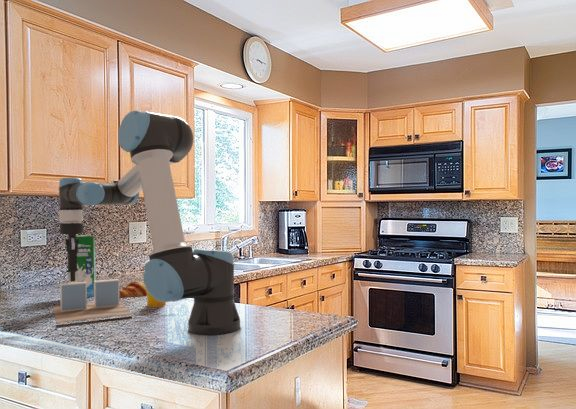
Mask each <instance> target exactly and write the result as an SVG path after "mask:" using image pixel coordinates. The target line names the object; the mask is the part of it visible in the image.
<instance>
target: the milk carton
mask: <svg viewBox="0 0 576 409" xmlns="http://www.w3.org/2000/svg"><path fill="white" fill-rule="evenodd" d="M76 239H78V241H79V243H78V251H77V269H78V271H77V282H87V299H91V298H93V299H94V281H97V280H96V279H97V278H96V276H97V275H96V269H97V268H96V239H95V237H94V235H81V234H78V235H76Z"/></svg>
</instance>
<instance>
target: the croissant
mask: <svg viewBox="0 0 576 409" xmlns="http://www.w3.org/2000/svg"><path fill="white" fill-rule="evenodd" d="M143 296H147V289H146V286H145V283H143V282H142V281H130V282H129V283H128V284H126V286H125V287H123V288H122V289H121V290H119V299H121V298H134V297H143Z"/></svg>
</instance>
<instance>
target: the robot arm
mask: <svg viewBox="0 0 576 409" xmlns="http://www.w3.org/2000/svg"><path fill="white" fill-rule="evenodd" d="M117 137H118V140H117V141H118V145H119V147H120V148H121V149H122V150H123V151H125V152H126V153H129V154H130V160H131V163H132V164H134V166H133V167H131V169H129V170H128V172H126V173H125V174H124V175H123V176H122V177H120V179H119V180H118V181H116V182H110V183H109V182H94V181H86V182H84V181H83V179H82V178H80V177H61V178H60V179H59V182H58V199H59V200H58V201H59V203H58V204H59V210H58V211H59V212H58V213H59V214H58V216H59V218H58V219H59V222H61V223H60V224H59V234H61V235H67V239H66V238H65V244H66V246H65V248H66V252H67V267H66V268H67V270H66V273H67V279H68V280H67V283H74V282H77V271H78V269H77V251H78V243H79V241H78V239H76V236H77V235H81V234H84V223H83V221H84V216H86V212H84V206H102V205H103V206H104V205H105V206H106V205H107V206H108V205H110V206H111V205H112V206H113V205H114V206H117V205H118V206H121V205H122V206H128V205H134V204H136V203H137V201H138V199H139V198H140V192H141V191H142V193H143V194H142V195H143V199H144V203H145V211H146V216H147V220H148V225H149V232H150V236H151V237H150V238H151V242H152V247H153V248H152V250H151V252H150V253H149V254H148V259H149V261H148V262H146V263H145V265H144V268H143V270H144V271H143V272H142V275H143V282H144V283H145V286H146V289H147V290H148V292H149V294H150V295H151V296H152V297H154V299H156V300H157V301H160V302H166V303H169V302H174V303H175V302H177V301H181V300H186V299H190V298H193V305H192V308H191V311H190V315H189V318H188V322H187V328H188V331H189V332H190V333H193V334H195V335H196V334H197V335H209V336H210V335H212V336H213V335H224V334H228V333H232V332H235V331H238V330H239V329H240V328H241V318H240V316H239V312H238V309H237V306H236V303H235V264H234V256H233V253H232V252H231V251H227V250H218V249H217V250H215V249H203V248H202V249H200V248H195V249H194V250H193V248H192V245H190V244H188V243H187V242H186V240H185V235H184V230H183V225H182V220H181V215H180V210H179V209H180V208H179V206H178V205H179V204H178V200H177V196H176V189H175V185H174V179H173V175H172V170H171V165H173V164H178V163H180V162H181V161H182V160H184V159H185V157H187V156H188V155H189V153H190V152H191V150H192V147H193V145H194V132H193V130H192V128H191V126H190V124H189V123H188V122H186V120H185V119H183V118H181V117H179V116H175V115H170V114H163V113H157V112H150V111H148V110H132V111H129V112H128V113H127V114H126V115H125V116H124V117H123V118H122V121H121V122H120V125H119V128H118V134H117ZM144 283H143V284H144Z"/></svg>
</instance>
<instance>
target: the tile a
mask: <svg viewBox="0 0 576 409" xmlns="http://www.w3.org/2000/svg"><path fill="white" fill-rule="evenodd" d="M59 292H60V294H59V295H60V302H59V303H60V305H59V306H60V307H61V312H64V311H74V310H83V309H87V303H88V298H87V282H74V283H68V282H64V283H60V284H59Z"/></svg>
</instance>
